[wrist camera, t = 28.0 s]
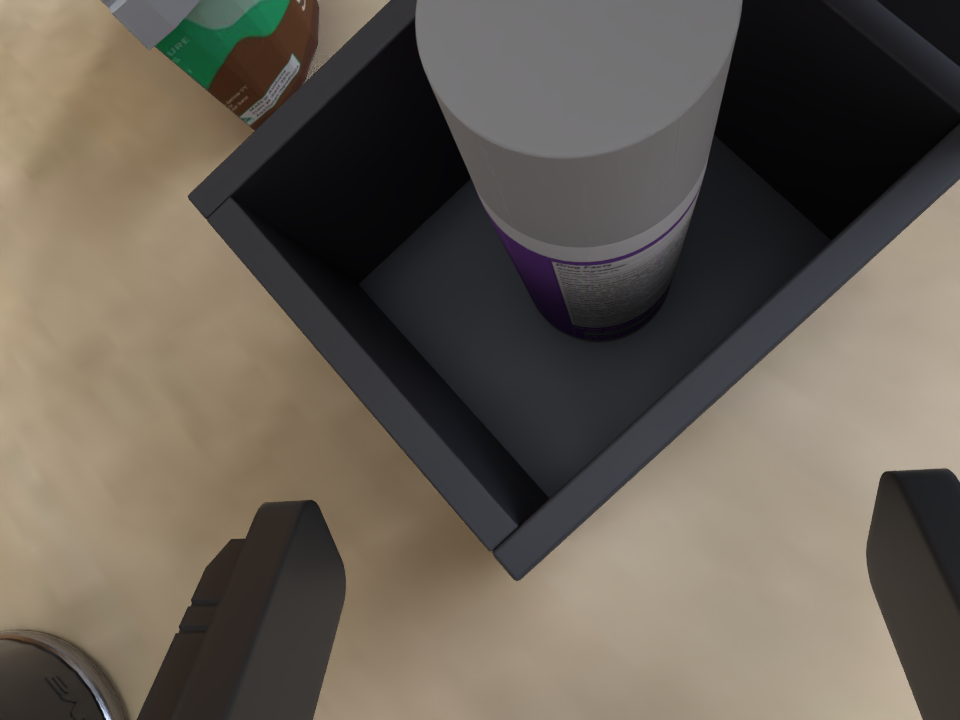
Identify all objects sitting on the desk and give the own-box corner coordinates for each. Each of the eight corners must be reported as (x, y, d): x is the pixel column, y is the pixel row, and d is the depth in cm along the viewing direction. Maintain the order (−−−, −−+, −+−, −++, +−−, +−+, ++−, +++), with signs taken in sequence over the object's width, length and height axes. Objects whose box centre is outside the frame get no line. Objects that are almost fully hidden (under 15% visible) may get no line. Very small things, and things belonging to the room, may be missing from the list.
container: (510, 231, 26) (368, -79, 11) (644, 184, 25) (684, -209, 10) (551, 361, 25) (458, 215, 10) (692, 317, 24) (807, 92, 10)
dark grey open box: (555, 537, 25) (516, 584, 15) (336, 289, 27) (185, 196, 18) (866, 252, 24) (1029, 115, 15) (614, 26, 27) (613, -216, 17)
